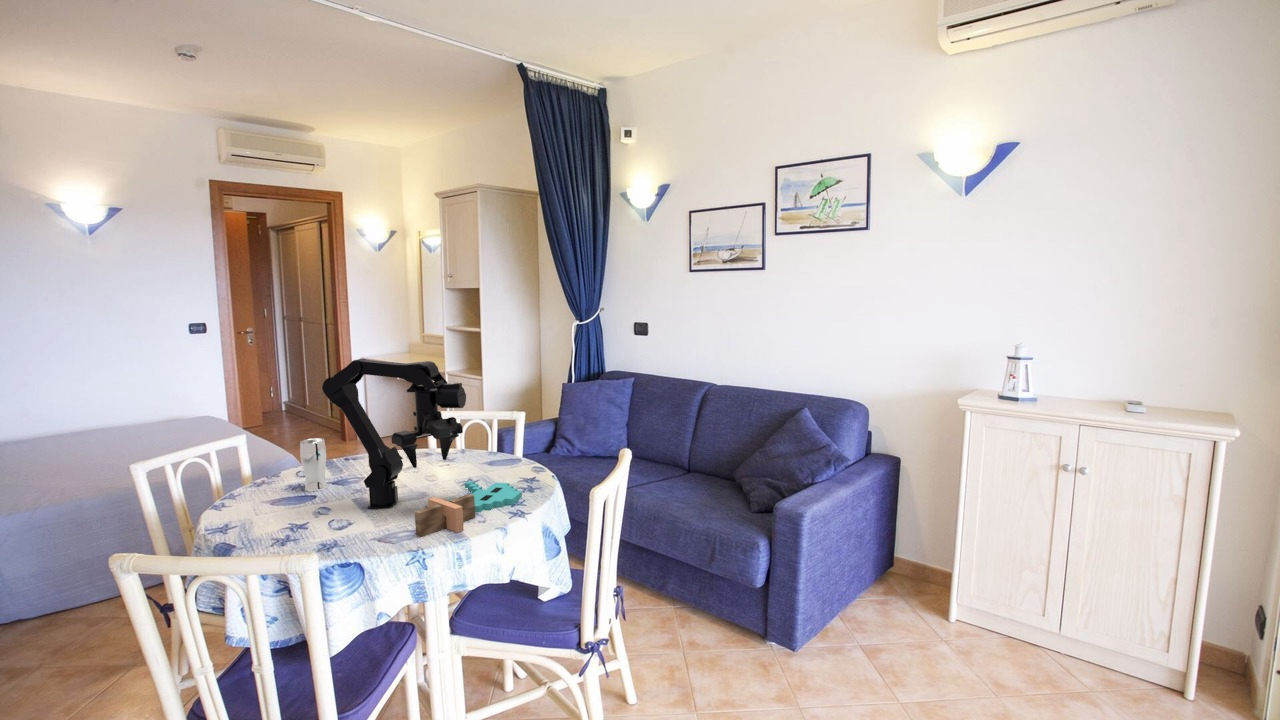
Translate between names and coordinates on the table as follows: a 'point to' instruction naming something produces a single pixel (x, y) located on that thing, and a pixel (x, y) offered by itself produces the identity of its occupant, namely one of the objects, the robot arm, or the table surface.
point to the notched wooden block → (435, 521)
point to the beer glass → (314, 463)
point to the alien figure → (493, 495)
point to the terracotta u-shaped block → (450, 513)
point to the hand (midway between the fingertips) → (430, 463)
